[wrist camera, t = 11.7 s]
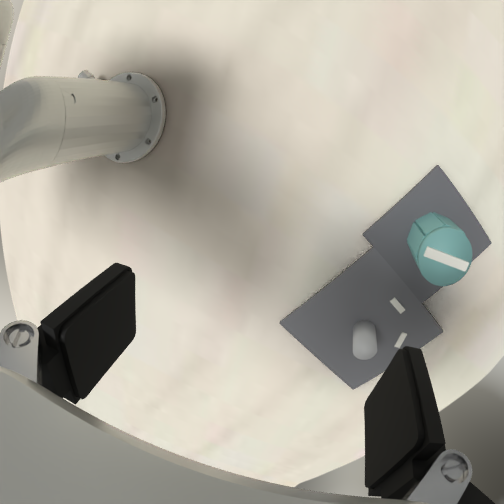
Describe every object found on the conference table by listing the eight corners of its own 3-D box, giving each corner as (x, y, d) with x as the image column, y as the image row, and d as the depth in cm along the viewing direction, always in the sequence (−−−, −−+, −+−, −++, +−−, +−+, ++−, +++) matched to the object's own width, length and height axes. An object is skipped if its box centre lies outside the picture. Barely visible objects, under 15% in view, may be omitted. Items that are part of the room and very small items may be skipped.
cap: (400, 254, 34) (410, 277, 28) (418, 206, 31) (433, 221, 26) (442, 269, 33) (458, 294, 27) (461, 223, 30) (482, 241, 25)
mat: (362, 233, 35) (362, 235, 34) (437, 164, 29) (438, 165, 29) (420, 301, 35) (421, 303, 35) (490, 241, 30) (491, 243, 30)
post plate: (280, 321, 42) (272, 342, 37) (373, 246, 35) (377, 262, 30) (353, 387, 43) (351, 410, 38) (442, 329, 36) (450, 351, 31)
